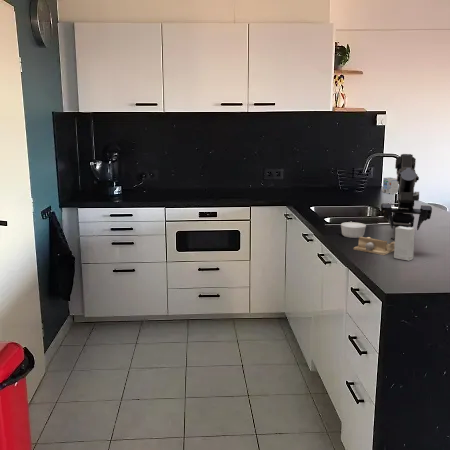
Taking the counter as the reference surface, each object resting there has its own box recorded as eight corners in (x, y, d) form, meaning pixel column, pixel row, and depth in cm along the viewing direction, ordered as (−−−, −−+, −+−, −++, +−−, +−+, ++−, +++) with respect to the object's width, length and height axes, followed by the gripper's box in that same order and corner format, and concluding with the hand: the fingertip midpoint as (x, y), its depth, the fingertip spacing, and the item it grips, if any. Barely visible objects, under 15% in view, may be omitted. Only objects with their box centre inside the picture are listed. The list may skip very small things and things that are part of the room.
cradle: (369, 243, 215) (370, 232, 214) (398, 248, 207) (399, 237, 206) (353, 249, 205) (354, 237, 204) (383, 255, 197) (384, 243, 196)
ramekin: (347, 239, 223) (348, 227, 222) (335, 233, 234) (336, 222, 233) (370, 237, 226) (371, 226, 225) (357, 232, 237) (358, 221, 235)
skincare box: (413, 259, 192) (416, 227, 189) (408, 261, 188) (411, 229, 186) (397, 256, 196) (400, 225, 193) (392, 258, 193) (395, 227, 190)
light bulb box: (382, 192, 369) (383, 177, 366) (389, 191, 371) (391, 177, 368) (390, 194, 359) (392, 179, 356) (399, 194, 361) (400, 178, 358)
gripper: (382, 182, 198) (380, 215, 190) (433, 185, 193) (433, 218, 184) (381, 199, 207) (379, 231, 199) (430, 202, 202) (429, 235, 193)
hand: (404, 228), depth 194 cm, fingers open, 9 cm apart
